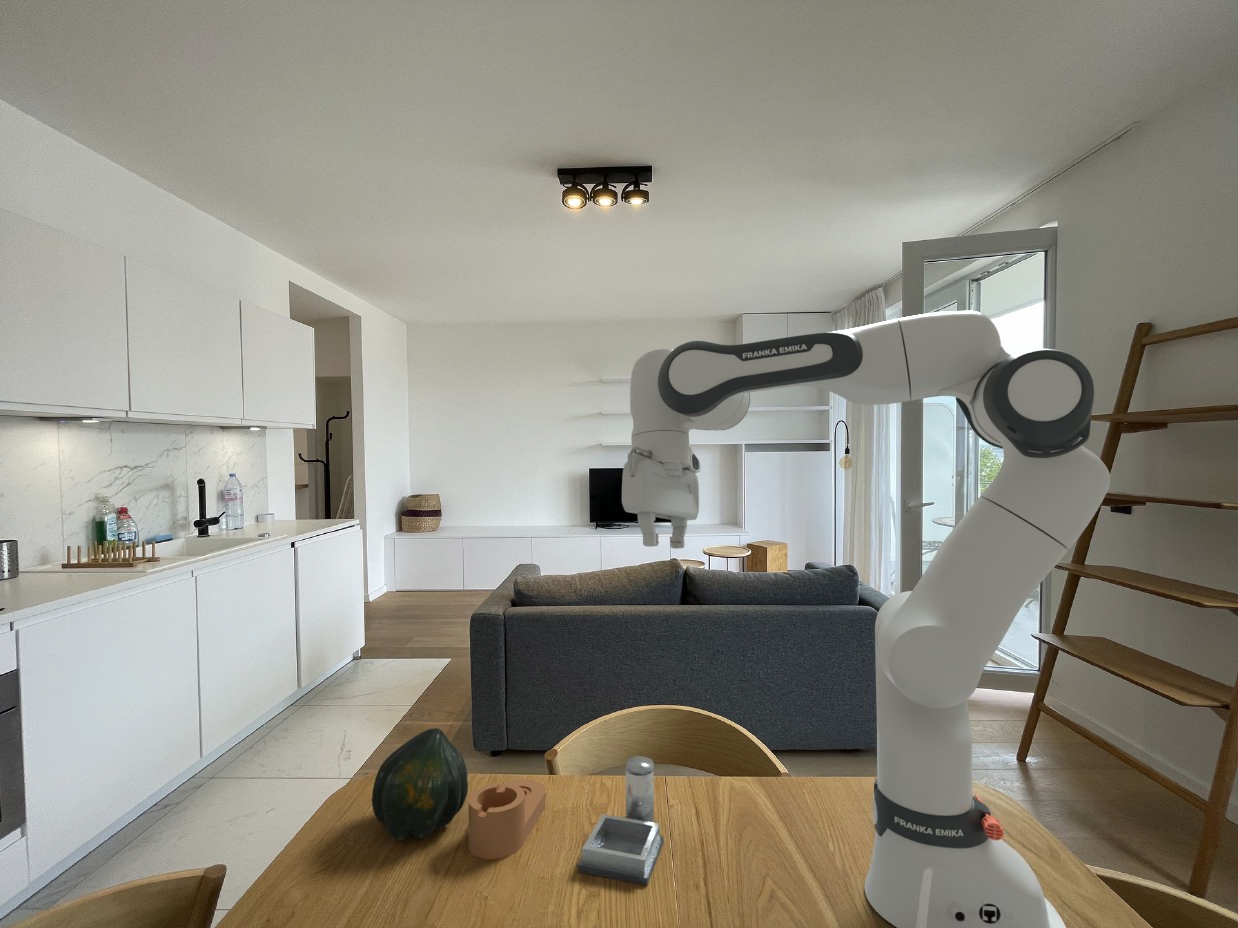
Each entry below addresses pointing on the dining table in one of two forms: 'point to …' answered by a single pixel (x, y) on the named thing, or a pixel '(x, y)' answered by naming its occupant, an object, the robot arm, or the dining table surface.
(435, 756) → the squash
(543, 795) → the bracket
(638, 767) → the upright metal cylinder
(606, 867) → the square open tray
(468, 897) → the dining table surface
